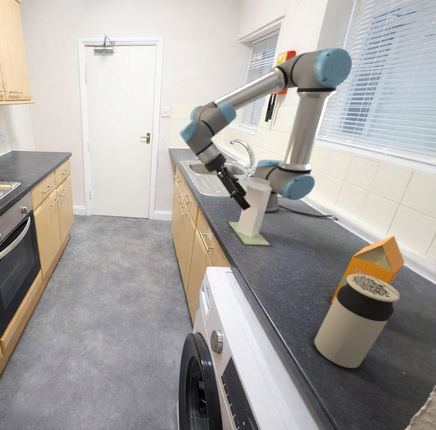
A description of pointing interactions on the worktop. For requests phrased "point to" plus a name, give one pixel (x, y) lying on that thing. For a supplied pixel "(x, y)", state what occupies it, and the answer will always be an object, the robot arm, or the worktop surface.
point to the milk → (254, 207)
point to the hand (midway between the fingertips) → (245, 201)
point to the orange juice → (375, 262)
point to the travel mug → (355, 319)
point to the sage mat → (247, 240)
